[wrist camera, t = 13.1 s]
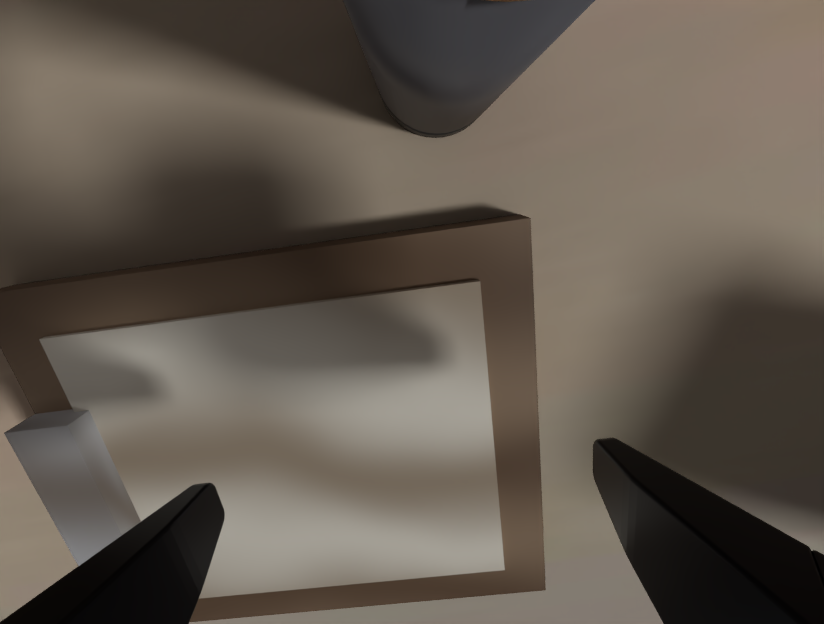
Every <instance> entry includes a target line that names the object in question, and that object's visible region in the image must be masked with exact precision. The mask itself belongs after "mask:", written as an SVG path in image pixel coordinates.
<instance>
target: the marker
mask: <svg viewBox="0 0 824 624" xmlns="http://www.w3.org/2000/svg"><path fill="white" fill-rule="evenodd" d="M594 1H595V0H343V2H344V4H345V7H346V9H347V12H348V14H349V17H350V19H351V22H352V24H353V27H354V29H355V32H356V35H357V37H358V40H359V42H360V45H361V47H362V50H363V52H364V55H365V57H366V60H367V62H368V65H369V67H370V70H371V73H372V75H373V78H374V80H375V83H376V85H377V88H378V90H379V93H380V95H381V98H382V100H383V102H384V104H385V106H386V108H387V110H388V111H389V113H390V114H391V115H392V117H393V118H394V119H395V120H396V121H397V122H398V123H399V124H400V125H401V126H403V127H404V128H405V129H407V130H409V131H411V132H412V133H415V134H417V135H420V136H424V137H432V138H439V137H446V136H450V135H453V134H456V133H458V132H460V131H462V130H464V129H465V128H467V127H468V126H470V125H471V124H472V123H473V122H474V121H475V120H476V119H477V118H478V117H479V116H480V115H481V114H482V113H483V112H484V111H485V110H486V109H487V108H488V107H489V106H490V105H491V104H492V103H493V102H494V101H495V100H496V99H497V98H498V97H499V96H500V95H501V94H502V93H503V92H504V91H505V90H506V89H507V88H508V87H509V86H510V85H511V84H512V83H513V82H514V81H515V80H516V79H517V78H518V77H519V76H520V75H521V74H522V73H523V72H524V71H525V70H526V69H527V68H528V67H529V66H530V65H531V64H532V63H533V62H534V61H535V60H536V59H537V58H538V57H539V56H540V55H541V54H542V53H543V52H544V51H545V50H546V49H547V48H548V47H549V46H550V45H551V44H552V43H553V42H554V41H555V40H556V39H557V38H558V37H559V36H560V35H561V34H562V33H563V32H564V31H565V30H566V29H567V28H568V27H569V26H570V25H571V24H572V23H573V22H574V21H575V20H576V19H577V18H578V17H579V16H580V15H581V14H582V13H583V12H584V11H585V10H586V9H587V8H588V7H589V6H590V5H591V4H592V3H593V2H594Z"/></svg>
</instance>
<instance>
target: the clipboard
mask: <svg viewBox="0 0 824 624" xmlns="http://www.w3.org/2000/svg"><path fill="white" fill-rule="evenodd" d="M0 347H1V349H2V351H3V353H4V355H5V357H6V359H7V361H8V363H9V364H10V366H11V368H12V370H13V372H14V374H15V376H16V378H17V380H18V382H19V384H20V386H21V388H22V390H23V391H24V393H25V395H26V397H27V399H28V401H29V403H30V405H31V407H32V409H33V411H34V413H35V414H34V415H33V416H31V417H29V418H28V419H26V420H24V421H23V422H21V423H20V424H18V425H16V426H15V427H13V428H11V429H10V430H8V431H7V432H5V433H4V434H5V435H6V437H7V439H8V441H9V443H10V444H11V446H12V448H13V450H14V452H15V453H16V455H17V457H18V459H19V461H20V462H21V464H22V466H23V468H24V469H25V471H26V473H27V475H28V477H29V478H30V480H31V482H32V484H33V486H34V487H35V489H36V491H37V493H38V495H39V496H40V498H41V500H42V502H43V503H44V505H45V507H46V509H47V511H48V512H49V514H50V516H51V518H52V520H53V521H54V523H55V525H56V527H57V529H58V530H59V532H60V534H61V536H62V537H63V539H64V541H65V543H66V545H67V546H68V548H69V550H70V552H71V554H72V555H73V557H74V559H75V561H76V563H77V564H78V566H80V565H81V564H82V563H84V562H85V561H87V560H88V559H89V558H91V557H92V556H94V555H95V554H96V553H98V552H99V551H101V550H102V549H103V548H105V547H106V546H108V545H109V544H110V543H112V542H113V541H115V540H116V539H117V538H119V537H120V536H122V535H123V534H124V533H126V532H127V531H129V530H130V529H131V528H133V527H134V526H136V525H137V524H138V523H140V522H141V521H143V520H144V519H145V518H147V517H148V516H150V515H151V514H152V513H154V512H155V511H157V510H158V509H159V508H161V507H162V506H164V505H165V504H166V503H168V502H169V501H171V500H172V499H173V498H175V497H176V496H178V495H179V494H180V493H182V492H183V491H185V490H186V489H187V488H189V487H190V486H192V485H194V484H200V483H212V484H214V485H215V487H216V490H217V492H218V495H219V497H220V500H221V503H222V505H223V508H224V512H225V518H224V523H223V526H222V529H221V533H220V536H219V539H218V542H217V545H216V548H215V551H214V554H213V558H212V561H211V564H210V567H209V570H208V573H207V576H206V579H205V583H204V585H203V588H202V591H201V594H200V597H199V599H198V602H197V604H196V607H195V609H194V612H193V614H192V616H191V619H190V621H189V622H196V621H208V620H219V619H230V618H241V617H252V616H263V615H274V614H285V613H297V612H308V611H319V610H330V609H341V608H352V607H363V606H374V605H386V604H397V603H408V602H419V601H430V600H441V599H452V598H463V597H475V596H486V595H497V594H508V593H519V592H530V591H541V590H545V565H544V541H543V516H542V491H541V467H540V442H539V417H538V393H537V368H536V344H535V319H534V294H533V270H532V245H531V220H530V218H529V217H526V216H523V215H520V214H518V215H511V216H503V217H496V218H489V219H482V220H475V221H468V222H460V223H453V224H446V225H439V226H432V227H425V228H418V229H410V230H403V231H396V232H389V233H382V234H375V235H368V236H360V237H353V238H346V239H339V240H332V241H325V242H318V243H310V244H303V245H296V246H289V247H282V248H275V249H268V250H260V251H253V252H246V253H239V254H232V255H225V256H218V257H210V258H203V259H196V260H189V261H182V262H175V263H168V264H160V265H153V266H146V267H139V268H132V269H125V270H118V271H110V272H103V273H96V274H89V275H82V276H75V277H68V278H60V279H53V280H46V281H39V282H32V283H25V284H17V285H12V286H8V287H5V288H1V289H0Z"/></svg>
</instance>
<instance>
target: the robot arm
mask: <svg viewBox="0 0 824 624" xmlns="http://www.w3.org/2000/svg"><path fill="white" fill-rule="evenodd" d="M593 475H594V479H595V482H596V485H597V487H598V490H599V492H600V494H601V497H602V499H603V501H604V504H605V506H606V508H607V511H608V513H609V516H610V518H611V520H612V523H613V525H614V527H615V530H616V532H617V534H618V537H619V539H620V542H621V544H622V546H623V548H624V550H625V553H626V555H627V557H628V559H629V561H630V563H631V564H632V566H633V568H634V570H635V572H636V574H637V576H638V577H639V579H640V581H641V583H642V585H643V587H644V588H645V590H646V592H647V594H648V596H649V598H650V599H651V601H652V603H653V605H654V607H655V609H656V610H657V612H658V614H659V616H660V618H661V620H662V621H663V623H664V624H824V555H823V554H821V553H819V552H818V551H815V550H813V551H811V549H810V548H809V547H808V546H807V545H805V544H803V543H801V542H799V541H798V540H796V539H794V538H792V537H791V536H789V535H787V534H785V533H783V532H782V531H780V530H778V529H776V528H775V527H773V526H771V525H769V524H767V523H766V522H764V521H762V520H760V519H758V518H757V517H755V516H753V515H751V514H750V513H748V512H746V511H744V510H742V509H741V508H739V507H737V506H735V505H734V504H732V503H730V502H728V501H726V500H725V499H723V498H721V497H719V496H717V495H716V494H714V493H712V492H710V491H709V490H707V489H705V488H703V487H701V486H700V485H698V484H696V483H694V482H693V481H691V480H689V479H687V478H685V477H684V476H682V475H680V474H678V473H676V472H675V471H673V470H671V469H669V468H668V467H666V466H664V465H662V464H660V463H659V462H657V461H655V460H653V459H652V458H650V457H648V456H646V455H644V454H643V453H641V452H639V451H637V450H635V449H634V448H632V447H630V446H628V445H627V444H625V443H623V442H621V441H619V440H618V439H615V438H606V439H597V440H596V441H595V442H594V444H593ZM224 518H225V512H224V508H223V505H222V503H221V500H220V497H219V495H218V492H217V490H216V487H215V485H214V484H212V483H200V484H194V485H192V486H190V487H189V488H187V489H186V490H185V491H183V492H182V493H180V494H179V495H178V496H176V497H175V498H173V499H172V500H171V501H169V502H168V503H166V504H165V505H164V506H162V507H161V508H159V509H158V510H157V511H155V512H154V513H152V514H151V515H150V516H148V517H147V518H145V519H144V520H143V521H141V522H140V523H138V524H137V525H136V526H134V527H133V528H131V529H130V530H129V531H127V532H126V533H124V534H123V535H122V536H120V537H119V538H117V539H116V540H115V541H113V542H112V543H110V544H109V545H108V546H106V547H105V548H103V549H102V550H101V551H99V552H98V553H96V554H95V555H94V556H92V557H91V558H89V559H88V560H87V561H85V562H84V563H82V564H81V565H80V566H78V567H77V568H75V569H74V570H73V571H71V572H70V573H68V574H67V575H66V576H64V577H63V578H61V579H60V580H59V581H57V582H56V583H54V584H53V585H52V586H50V587H49V588H47V589H46V590H44V591H43V592H42V593H40V594H39V595H37V596H36V597H35V598H33V599H32V600H30V601H29V602H28V603H26V604H25V605H23V606H22V607H21V608H19V609H18V610H16V611H15V612H14V613H12V614H11V615H9V616H8V617H7V618H5V619H4V620H2V621H1V622H0V624H189V621H190V619H191V616H192V614H193V612H194V609H195V607H196V604H197V602H198V599H199V597H200V594H201V591H202V588H203V585H204V583H205V579H206V576H207V573H208V570H209V567H210V564H211V561H212V558H213V554H214V551H215V548H216V545H217V542H218V539H219V536H220V533H221V529H222V526H223V523H224Z"/></svg>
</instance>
